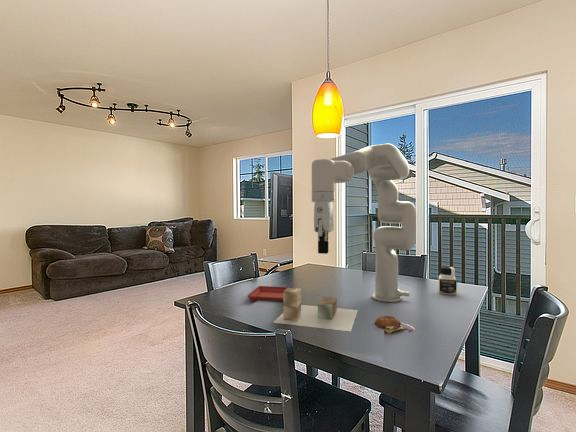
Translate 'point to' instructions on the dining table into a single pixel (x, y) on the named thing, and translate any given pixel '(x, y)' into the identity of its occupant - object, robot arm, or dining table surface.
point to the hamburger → (390, 324)
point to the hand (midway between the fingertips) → (323, 253)
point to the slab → (310, 319)
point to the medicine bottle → (447, 281)
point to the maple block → (292, 304)
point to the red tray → (267, 293)
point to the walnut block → (327, 308)
